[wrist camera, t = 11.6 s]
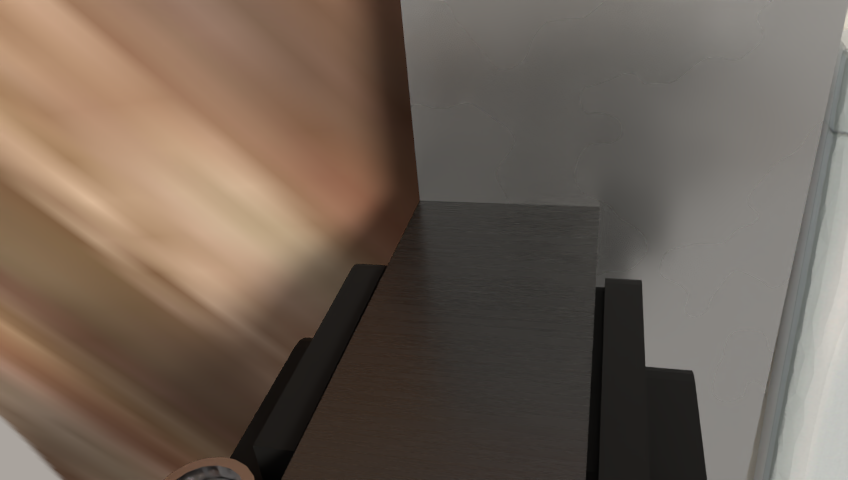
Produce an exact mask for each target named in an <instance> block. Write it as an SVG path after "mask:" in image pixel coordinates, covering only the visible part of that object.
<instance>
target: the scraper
mask: <svg viewBox="0 0 848 480" xmlns="http://www.w3.org/2000/svg"><path fill="white" fill-rule="evenodd" d="M400 1H401V11H402V21H403V32H404V42H405V52H406V62H407V73H408V83H409V93H410V104H411V114H412V124H413V134H414V145H415V155H416V165H417V175H418V186H419V196H420V201H419V203H418V205H417V207H416V209H415V211H414V214H413V216H412V218H411V220H410V222H409V224H408V226H407V228H406V230H405V232H404V234H403V236H402V238H401V240H400V242H399V244H398V246H397V248H396V250H395V252H394V254H393V256H392V258H391V260H390V262H389V264H388V266H387V268H386V270H385V272H384V274H383V276H382V278H381V280H380V282H379V284H378V286H377V288H376V290H375V292H374V294H373V296H372V298H371V300H370V302H369V304H368V306H367V308H366V310H365V312H364V314H363V316H362V318H361V320H360V322H359V324H358V326H357V328H356V330H355V332H354V334H353V336H352V338H351V340H350V342H349V344H348V346H347V348H346V350H345V352H344V354H343V356H342V358H341V360H340V362H339V364H338V366H337V368H336V370H335V372H334V374H333V376H332V378H331V380H330V383H329V385H328V387H327V389H326V391H325V393H324V395H323V397H322V399H321V401H320V403H319V405H318V407H317V409H316V411H315V413H314V415H313V417H312V419H311V421H310V423H309V425H308V427H307V429H306V431H305V433H304V435H303V437H302V439H301V441H300V443H299V445H298V447H297V449H296V451H295V453H294V455H293V457H292V459H291V461H290V463H289V465H288V467H287V469H286V471H285V473H284V475H283V477H282V479H281V480H586V464H587V445H588V426H589V406H590V387H591V367H592V348H593V329H594V309H595V290H596V287H605V278H615V279H632V280H642V294H643V318H644V343H645V367H657V368H669V369H681V370H692V371H693V373H694V378H695V385H696V393H697V401H698V409H699V417H700V425H701V433H702V441H703V450H704V458H705V466H706V474H707V480H746V478H747V473H748V469H749V464H750V459H751V455H752V450H753V445H754V441H755V436H756V431H757V427H758V422H759V418H760V413H761V408H762V404H763V399H764V394H765V390H766V385H767V380H768V376H769V371H770V366H771V362H772V357H773V353H774V348H775V343H776V339H777V334H778V329H779V325H780V320H781V315H782V311H783V306H784V301H785V297H786V292H787V288H788V283H789V278H790V274H791V269H792V264H793V260H794V255H795V250H796V246H797V241H798V236H799V232H800V227H801V223H802V218H803V213H804V209H805V204H806V199H807V195H808V190H809V185H810V181H811V176H812V171H813V167H814V162H815V158H816V153H817V148H818V144H819V139H820V134H821V130H822V125H823V120H824V116H825V111H826V106H827V102H828V97H829V93H830V88H831V83H832V79H833V74H834V69H835V65H836V60H837V55H838V51H839V46H840V41H841V37H842V32H843V28H844V23H845V18H846V14H847V9H848V0H400Z"/></svg>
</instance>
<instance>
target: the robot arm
mask: <svg viewBox="0 0 848 480" xmlns="http://www.w3.org/2000/svg"><path fill="white" fill-rule="evenodd" d="M386 268H387V266H385V265H368V264H356V265H354V266H353V268H352V269H351V271H350V273H349V275H348V277H347V278H346V280H345V282H344V284H343V285H342V287H341V289H340V291H339V293H338V294H337V296H336V298H335V300H334V302H333V303H332V305H331V307H330V309H329V311H328V312H327V314H326V316H325V318H324V319H323V321H322V323H321V325H320V327H319V328H318V330H317V332H316V334H315V336H314V337H313V338H303V339H301V340H300V341H299V342H298V343H297V345H296V346H295V347H294V349H293V351H292V353H291V354H290V356H289V358H288V359H287V361H286V363H285V365H284V366H283V368H282V370H281V372H280V373H279V375H278V377H277V378H276V380H275V382H274V384H273V385H272V387H271V389H270V390H269V392H268V394H267V396H266V397H265V399H264V401H263V402H262V404H261V406H260V408H259V409H258V411H257V413H256V414H255V416H254V418H253V420H252V421H251V423H250V425H249V426H248V428H247V430H246V432H245V433H244V435H243V437H242V438H241V440H240V442H239V444H238V445H237V447H236V449H235V450H234V452H233V454H232V456H231V457H230V458H225V457H213V458H204V459H201V460H197V461H194V462H191V463H188V464H186V465H184V466H183V467H181V468H179V469H177V470H175V471H174V472H172V473H171V474H170V475H169V476H167V477H166V478H165V479H164V480H281V479H282V477H283V475H284V473H285V471H286V469H287V467H288V465H289V463H290V461H291V459H292V457H293V455H294V453H295V451H296V449H297V447H298V445H299V443H300V441H301V439H302V437H303V435H304V433H305V431H306V429H307V427H308V425H309V423H310V421H311V419H312V417H313V415H314V413H315V411H316V409H317V407H318V405H319V403H320V401H321V399H322V397H323V395H324V393H325V391H326V389H327V387H328V385H329V383H330V380H331V378H332V376H333V374H334V372H335V370H336V368H337V366H338V364H339V362H340V360H341V358H342V356H343V354H344V352H345V350H346V348H347V346H348V344H349V342H350V340H351V338H352V336H353V334H354V332H355V330H356V328H357V326H358V324H359V322H360V320H361V318H362V316H363V314H364V312H365V310H366V308H367V306H368V304H369V302H370V300H371V298H372V296H373V294H374V292H375V290H376V288H377V286H378V284H379V282H380V280H381V278H382V276H383V274H384V272H385V270H386ZM586 480H707V474H706V466H705V458H704V450H703V441H702V433H701V425H700V417H699V409H698V401H697V393H696V385H695V378H694V373H693V371H692V370H681V369H669V368H657V367H645V343H644V318H643V294H642V280H632V279H615V278H605V287H596V290H595V309H594V329H593V348H592V367H591V387H590V406H589V426H588V445H587V464H586Z"/></svg>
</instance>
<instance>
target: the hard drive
mask: <svg viewBox="0 0 848 480" xmlns="http://www.w3.org/2000/svg"><path fill="white" fill-rule="evenodd" d="M753 480H848V29H846V30H843V32H842V37H841V41H840V46H839V51H838V55H837V60H836V65H835V69H834V74H833V79H832V83H831V88H830V93H829V97H828V102H827V106H826V111H825V116H824V120H823V125H822V130H821V134H820V139H819V144H818V148H817V153H816V158H815V162H814V167H813V171H812V176H811V181H810V185H809V190H808V195H807V199H806V204H805V209H804V213H803V218H802V223H801V227H800V232H799V236H798V241H797V246H796V250H795V255H794V260H793V264H792V269H791V274H790V278H789V283H788V288H787V292H786V297H785V301H784V306H783V311H782V316H781V321H780V327H779V333H778V339H777V345H776V351H775V357H774V362H773V368H772V373H771V379H770V384H769V390H768V396H767V402H766V408H765V413H764V420H763V426H762V431H761V437H760V443H759V448H758V454H757V461H756V467H755V473H754V479H753Z"/></svg>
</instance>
